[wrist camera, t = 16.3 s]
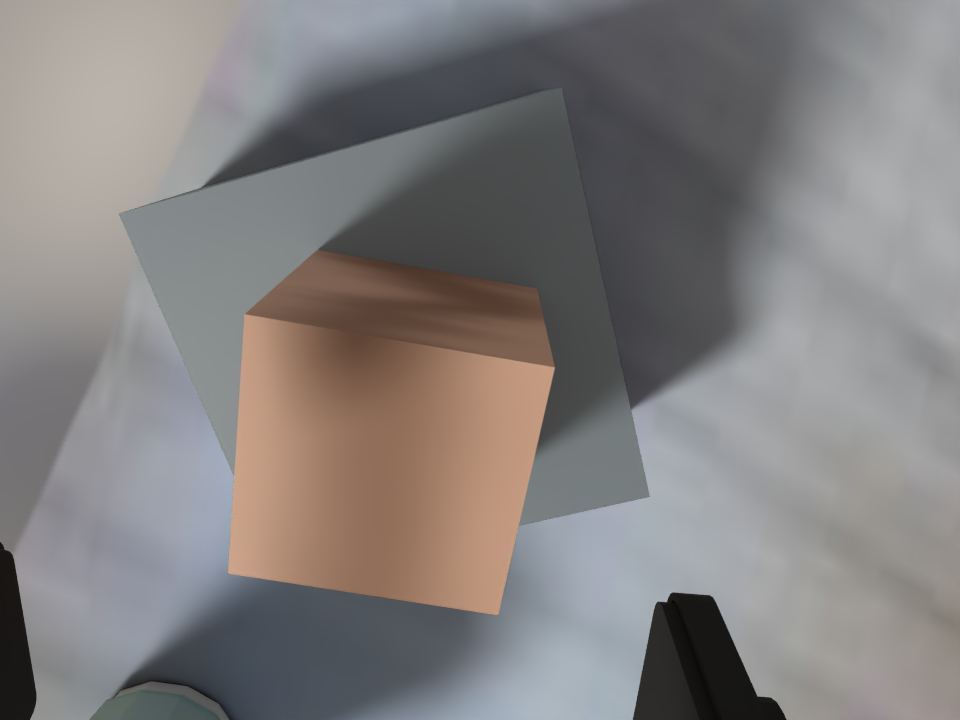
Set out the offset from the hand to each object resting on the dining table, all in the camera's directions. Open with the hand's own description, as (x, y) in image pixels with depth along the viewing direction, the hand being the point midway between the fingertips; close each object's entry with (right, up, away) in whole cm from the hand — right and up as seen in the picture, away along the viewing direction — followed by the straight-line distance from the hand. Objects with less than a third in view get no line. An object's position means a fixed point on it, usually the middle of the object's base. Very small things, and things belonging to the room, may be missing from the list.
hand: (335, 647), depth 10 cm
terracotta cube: (0, +4, +10) cm, 11 cm away
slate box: (0, +6, +15) cm, 17 cm away
